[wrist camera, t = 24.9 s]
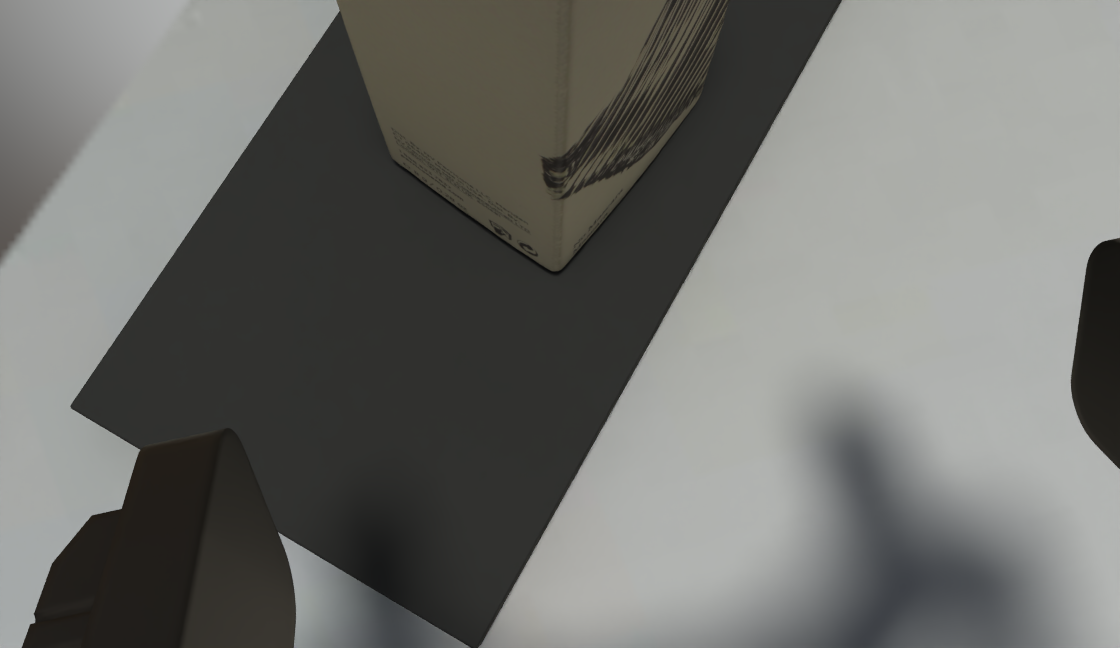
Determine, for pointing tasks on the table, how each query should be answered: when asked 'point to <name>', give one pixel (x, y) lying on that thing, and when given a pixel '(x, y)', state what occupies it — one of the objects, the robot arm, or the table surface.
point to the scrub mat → (424, 327)
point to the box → (532, 102)
